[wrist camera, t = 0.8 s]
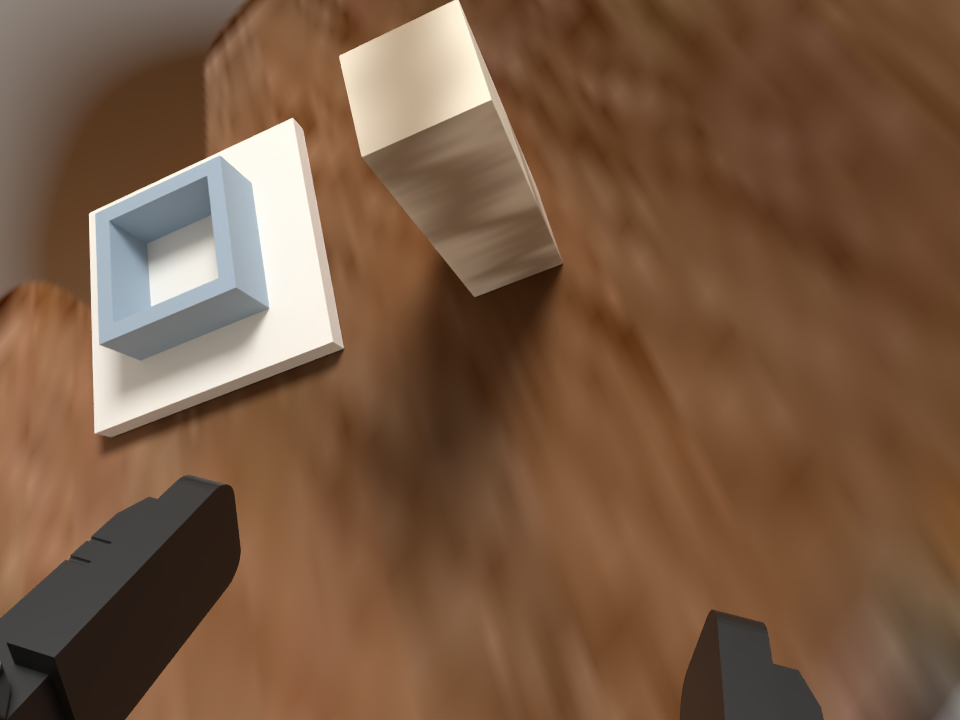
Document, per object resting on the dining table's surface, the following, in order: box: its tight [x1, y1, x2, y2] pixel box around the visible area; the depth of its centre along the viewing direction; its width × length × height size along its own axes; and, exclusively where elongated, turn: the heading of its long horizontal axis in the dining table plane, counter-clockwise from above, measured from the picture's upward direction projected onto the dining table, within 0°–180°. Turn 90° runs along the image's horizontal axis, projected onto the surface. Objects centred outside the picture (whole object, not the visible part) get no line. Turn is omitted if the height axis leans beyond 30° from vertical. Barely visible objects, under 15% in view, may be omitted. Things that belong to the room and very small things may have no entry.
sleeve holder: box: [89, 118, 344, 437], centre depth 39 cm, size 16×16×4 cm
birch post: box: [339, 0, 563, 297], centre depth 30 cm, size 5×5×13 cm
